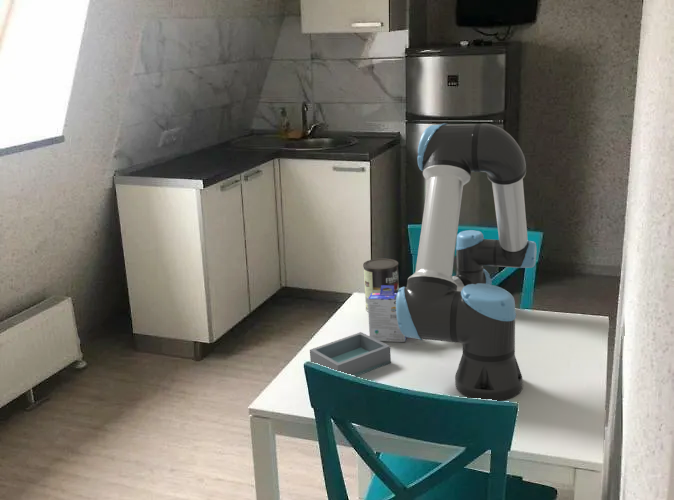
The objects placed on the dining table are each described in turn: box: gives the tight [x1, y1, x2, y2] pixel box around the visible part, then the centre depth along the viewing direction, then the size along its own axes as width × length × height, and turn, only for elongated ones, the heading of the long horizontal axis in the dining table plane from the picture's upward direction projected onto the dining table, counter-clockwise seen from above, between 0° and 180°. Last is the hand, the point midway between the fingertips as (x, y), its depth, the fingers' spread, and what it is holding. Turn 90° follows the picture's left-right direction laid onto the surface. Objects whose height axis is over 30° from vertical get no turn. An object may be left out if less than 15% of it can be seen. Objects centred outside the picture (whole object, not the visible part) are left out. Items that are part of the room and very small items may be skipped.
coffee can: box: [362, 257, 400, 313], centre depth 218 cm, size 10×10×14 cm
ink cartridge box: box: [367, 285, 408, 343], centre depth 197 cm, size 10×6×14 cm, turn 78°
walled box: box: [309, 331, 392, 377], centre depth 184 cm, size 12×16×4 cm
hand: (386, 312), depth 197 cm, fingers open, 13 cm apart
